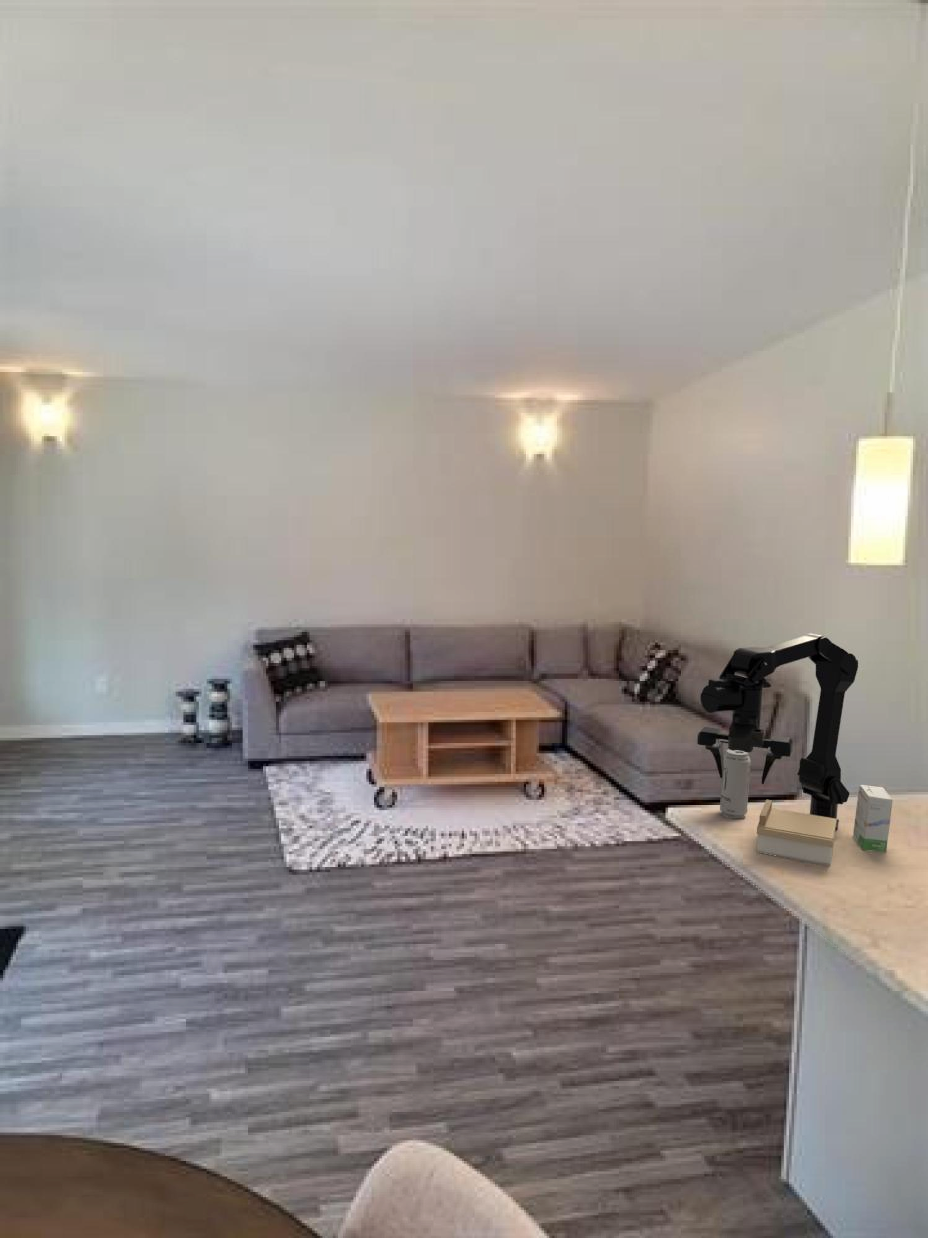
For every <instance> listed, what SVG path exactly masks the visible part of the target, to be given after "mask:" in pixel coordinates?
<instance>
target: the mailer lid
mask: <svg viewBox="0 0 928 1238" xmlns="http://www.w3.org/2000/svg"><path fill="white" fill-rule="evenodd" d="M837 819H838V818H837ZM837 819H835V818H829V817H823V816H816V815H810V813H809V814H808V813H805V812H797V811H791V810H785V809H780V808H779V809H778V808H773V800H770V799H766V800H765V802H764V804H763V807H762V809H761V811H760V813H759V820H758V821H759V822H758V824H757V826H756V835H757V836H758V835H764V836H770V837H775V838H781V839H787V840H792V841H798V842H804V843H809V844H815V845H821V846H826V847H833V848H834V845H833V839H834V840H835V833H836V830H835V828H836V823H837Z"/></svg>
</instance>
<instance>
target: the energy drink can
mask: <svg viewBox="0 0 928 1238" xmlns="http://www.w3.org/2000/svg"><path fill="white" fill-rule="evenodd" d="M725 752H726V753H725V754H724V755H723V761H724V771H723V778H721V784H720V785H721V786H720V787H721V788H720V803H719V811H721V814H722V815H723V817H726V818H730V819H742V818H744V817H745V815H747V813H748V806H749V805H748V804H749V790H750V789H749V787H750V774H751V762H752V761H751V758H750V756H749V752H744V751H739V750H735V751H733V750H730V749H729V748H727V749H726V751H725Z"/></svg>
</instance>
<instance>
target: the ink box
mask: <svg viewBox="0 0 928 1238" xmlns="http://www.w3.org/2000/svg"><path fill="white" fill-rule="evenodd" d="M893 802H894V800H893V799H892V797H891V796H890V795H889V793H888V792H887V791H886V790H885V788H884V787H883V786H873V785H866V784H860V785H859V786H858V795H857V800H856V809H855V816H854V817H855V818H854V823H853V824H854V827H853V833H852V836H853V837H854V839H855V841H856V842H857V844H858V845H859V847H860V849H861V850H862V851H872V852H880V853H887V851H888V850H887V848H888V840H889V834H890V825H891V816H892V810H893V809H892V808H893Z"/></svg>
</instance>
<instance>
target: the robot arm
mask: <svg viewBox="0 0 928 1238" xmlns="http://www.w3.org/2000/svg"><path fill="white" fill-rule="evenodd" d="M803 659H808V660H810V661H811V662H812V663H813V664H814V665H815V678H816V680H817V682H818V685H819V688H820V692H819V700H818V704H817V705H818V706H817V714H816V720H815V726H814V733H813V739H812V741H813V742H812V747H811V751H810V752H809V754H808V755H807V756H806V757H801V758H800V760H799V768H798V771H797V775H798V781H799V783H800V784H801V786H800V787H801V788H802V789H801V791H802V793H803V794H806V795H809V796H810V802H809V803H810V805H809V806H810V807H809V814H810V815H816V816H823V817H829V818H835V819H837V823H836V828H835V831H837V830H838V828H839V822H840V820H839V818H838V806H839V805H843V804H844V803H847V802H848V800H849V796H850V791H849V790H848V789H847V787H845V785H844V784H843V783H842V782H841V780H842V775H841V774H842V768H841V766H840V763H839V760H838V758H837V747H838V742H839V741H838V740H839V736H840V735H839V734H840V728H841V723H842V722H841V721H842V714H843V707H844V700H845V694H846V692H847V690H849V688H850V687H851V686H852V685H853V683H854V682H855V681H856V680H855V679H856V676H857V673H858V669H859V660H858V659H857V658H856V656H855V655H854V654H853V653H850V652H848V651H847V650H845V649H844V648H842V647H840V646H838V645H837V644H836V643H834V642H832V641H831V640H830V639H829V638H828V637H827V636H825V635H821V634H815V633H806V634H804V635H802V636H799V637H796V638H793V639H790V640H786V641H783V642H780V643H777V644H773V645H770V646H766V647H765V646H764V647H763V646H762V647H761V646H759V647H758V646H757V647H756V646H755V647H754V646H753V647H752V646H749V647H740V648H737V649H735V650H734V651H733V654H732V656H731V658H730V659H729V661H728V662H727V664H726V666H725V667H724V669H723V670H722V672H721V673H720V675H719V677H718V678H719V679H714V678H711V679H708V684H707V685H706V686H704V688H702V691H701V692H700V703H701V705H702V708H703V709H704V711H706V712H707V713H708V714H715V713H723V712H724V713H725V712H731V713H732V714H731V715H732V716H731V723H730V726H729V728H728V733H722V731H721V728H715V727H709V726H708V727H707V726H703V728H701V729H700V730H699V732H698V733H697V742H696V744H697V745H699V746H705V748H704V749H706V750H708V751H710V752H711V754H712V756H713V759H714V762H715V764H716V768H717V770H718V771H717V772H718V775H719V778H720V779H722V778H723V771H724V761H723V757H724V744H727V745H728V747H727V749H730V750H733V751H735V750H739V751H744V752H748V753H752V752H753V750H754V748H760V749H767V753H766V756H765V761H764V765H763V771H762V775H761V785H764V784H765V782H766V779H767V777H768V775H769V772H770V770H771V768H772V766H773V764H774V762H775V761H776V760H781V759H782V758H783V757H785V758H786V757H789V758H790V757H791V755H792V752H793V744H794V743H793V742H794V741H793V739H792V738H791V737H787V736H780V735H773V736H772V738H771V739H767V738H765V729H762V728H761V720H762V718H761V717H762V703H763V689H768V688H771V687H772V684H771V683H770V682H769V681H768V680H767V679H766V677H769V675H772V674H773V673H775V671H776V669H777V668H779V667H781V666H784V665H787V664H790V663H793V662H797V661H800V660H803Z"/></svg>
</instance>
